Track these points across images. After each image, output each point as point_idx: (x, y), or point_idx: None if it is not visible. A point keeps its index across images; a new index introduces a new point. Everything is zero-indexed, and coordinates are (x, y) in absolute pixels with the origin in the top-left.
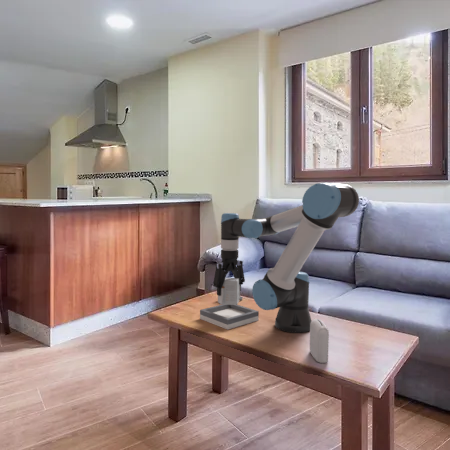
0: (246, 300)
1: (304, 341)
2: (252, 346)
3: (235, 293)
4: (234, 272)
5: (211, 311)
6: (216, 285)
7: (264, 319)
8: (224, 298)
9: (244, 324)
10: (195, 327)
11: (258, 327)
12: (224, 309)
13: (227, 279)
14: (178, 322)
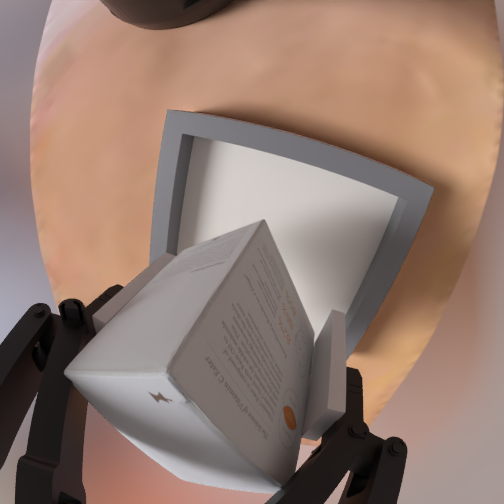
0: (63, 289)
1: None
2: (494, 20)
3: (247, 277)
4: (68, 464)
5: None
6: (404, 457)
7: (165, 98)
8: (298, 332)
9: (297, 134)
10: (437, 314)
11: (292, 53)
12: None
13: (203, 463)
14: (400, 381)
